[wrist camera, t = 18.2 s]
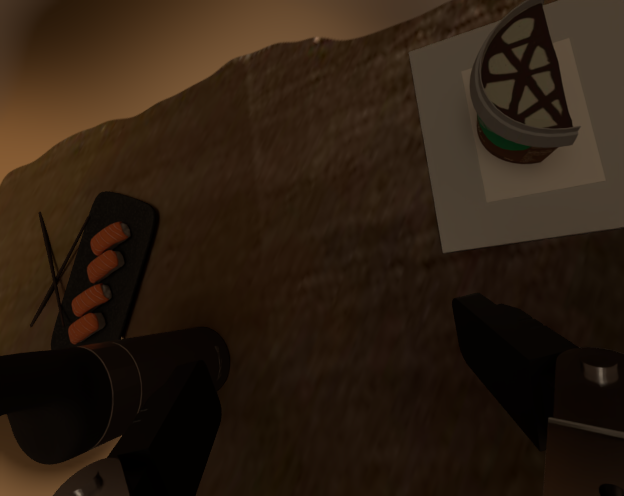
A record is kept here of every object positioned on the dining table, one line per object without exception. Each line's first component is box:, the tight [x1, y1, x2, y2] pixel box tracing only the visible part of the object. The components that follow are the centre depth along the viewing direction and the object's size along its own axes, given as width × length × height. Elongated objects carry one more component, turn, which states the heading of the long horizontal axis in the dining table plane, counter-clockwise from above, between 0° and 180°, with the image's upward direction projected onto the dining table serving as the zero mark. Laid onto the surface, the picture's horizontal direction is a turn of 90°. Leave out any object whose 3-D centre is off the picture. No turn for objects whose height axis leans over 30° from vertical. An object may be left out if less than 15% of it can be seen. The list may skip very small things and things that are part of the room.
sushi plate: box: [30, 191, 156, 350], centre depth 57 cm, size 29×30×4 cm
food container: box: [469, 0, 581, 164], centre depth 31 cm, size 12×6×10 cm, turn 6°
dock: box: [409, 0, 624, 254], centre depth 35 cm, size 20×24×1 cm
